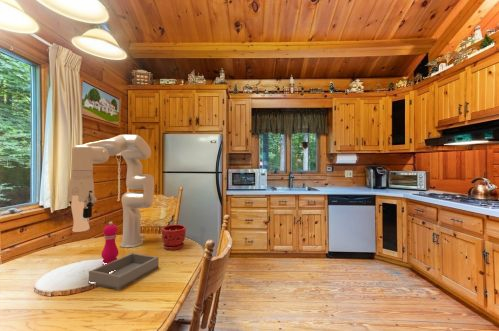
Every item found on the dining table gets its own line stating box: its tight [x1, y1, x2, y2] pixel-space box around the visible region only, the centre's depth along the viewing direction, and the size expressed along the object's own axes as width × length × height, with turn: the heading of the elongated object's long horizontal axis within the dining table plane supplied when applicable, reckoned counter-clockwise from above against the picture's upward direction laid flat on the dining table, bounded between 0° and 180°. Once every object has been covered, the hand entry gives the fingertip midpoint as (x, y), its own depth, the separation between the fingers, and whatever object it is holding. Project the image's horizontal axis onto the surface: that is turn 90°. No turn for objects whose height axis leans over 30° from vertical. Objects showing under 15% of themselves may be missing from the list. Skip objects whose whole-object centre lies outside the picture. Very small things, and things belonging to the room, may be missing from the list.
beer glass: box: [70, 195, 91, 233], centre depth 103 cm, size 7×7×15 cm
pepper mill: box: [101, 221, 119, 263], centre depth 119 cm, size 7×7×20 cm
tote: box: [88, 252, 160, 291], centre depth 105 cm, size 22×15×5 cm
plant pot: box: [161, 224, 187, 251], centre depth 142 cm, size 13×13×12 cm
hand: (81, 216), depth 103 cm, fingers closed on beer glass, 6 cm apart
